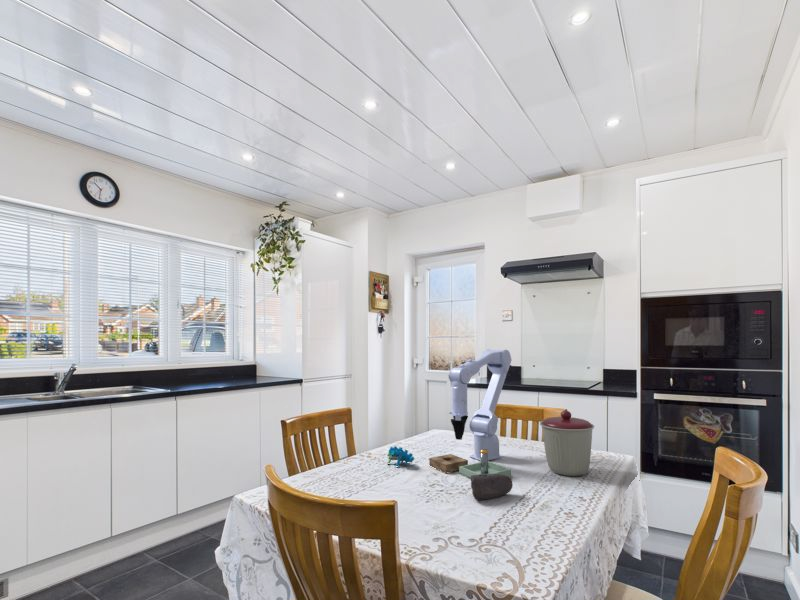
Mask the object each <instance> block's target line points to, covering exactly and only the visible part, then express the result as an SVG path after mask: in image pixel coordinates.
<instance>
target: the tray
mask: <svg viewBox="0 0 800 600" xmlns="http://www.w3.org/2000/svg"><path fill="white" fill-rule="evenodd" d="M458 472H459V474H458V475H460V474H461V475H460V476H462V475H463V477H465V476H466V477H465V478H467V477H468V478H467V479H469V480H471V476H472V475H479V474H481V461H480V462H475V463H470V464H468V465H465V466H460V467H459V471H458ZM488 473H489V474H502V475H505V476H508V477H509V478H511V477H512V469H511V468H509V467H506V466H503V465H501V464H497V463H494V462H492V461H490V460H488Z"/></svg>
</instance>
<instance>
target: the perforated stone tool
mask: <svg viewBox="0 0 800 600" xmlns="http://www.w3.org/2000/svg"><path fill="white" fill-rule="evenodd" d="M470 487H471V488H470V489H472V497H474V498H473V499H474V500H478V501H479V500H484V501H485V500H490V499H491V500H492V499H496V498H500V497H503V496H505V495H507V494H509V493H510V492H511V490H512V489H513V480H512V478H511V477H508V476H505V475H502V474H484V475H483V474H479V475H472V476H471V479H470Z"/></svg>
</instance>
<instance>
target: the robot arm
mask: <svg viewBox="0 0 800 600" xmlns="http://www.w3.org/2000/svg"><path fill="white" fill-rule="evenodd" d="M511 355H512V354H511V352H510V351H509V350H508V349H489V348H488V349H486V350H484V351H483V353H482V354H481V355H480V356H479V357H477V358H476V359H471V358H469V359H467V360H466V362H464V363H462V364H460V365H459V366H458V367H453V368H451V369H450V370H449V374H448V380H449V383H450V387H451V410H449V411H448V414H450V415H453V418H451V419H450V423H451V425H452V427H453V432H454V437H455V439H456V440H458V441H459V440H463V436H464V434H465V428H466V423H467V421H468V418H469V412H468V384H469V382H470V381H471V379H472V377H474V376H475V375H477V374H478V373H480V370H481V368H483V367H484V366H487V368H488V370H489V371H490V372H491V373H492V375H491V378H490V381H489V384H488V387H487V390H486V392H485V396H484V399H483V402H482V405H481V407H480V409H477V410H476V411H474V413H473V415H472V417H471V418H470V419H469V423H468V425H469V430H470V431H471V432H472V435H473V441H474V442H473V443H474V445H473V446H474V447H473V448H474V454H472V455H470V456H469V457H470V458H473V459H475V460H478V461H480V462H481V455H480V450H481V449H487V450H488V461H493V460H497V459H498V460H499V459H501V458H502V456H500V440H499V437H498V436H497V434H496V432H497V430H498V422H499V418H498V417H497V415H496V414H495V412H496V408H497V405H498V402H499V399H500V395H501V393H502V390H503V386H504V383H505V382H506V381H505V380H506V378H507V374H508V372H509V370H510V369H509V368H510V367H511V363H512V356H511Z"/></svg>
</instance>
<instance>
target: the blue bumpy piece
mask: <svg viewBox="0 0 800 600" xmlns="http://www.w3.org/2000/svg"><path fill="white" fill-rule="evenodd" d="M387 457H388V462H387V463H390V464H391V461H396V464H395V466H398V467H399V466H400V462H401V461H404V462H405V463H406V462H409V463H410V464H411V463H413V461H414V460H415V457H414V456H413V454H412V452H409V450H407V449H405V450H403V447H401V446H399V447H398V446H396V445H394V446H393V447H392V446H390V447H389V449H388V452H387Z"/></svg>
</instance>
